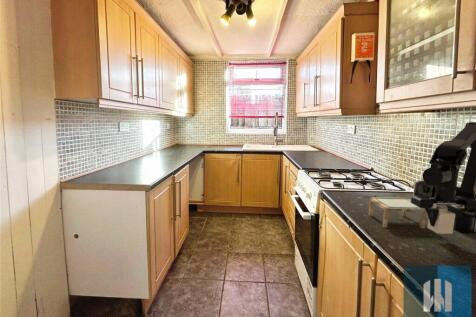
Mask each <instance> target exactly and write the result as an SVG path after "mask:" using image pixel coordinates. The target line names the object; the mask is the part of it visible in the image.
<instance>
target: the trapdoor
mask: <svg viewBox="0 0 476 317" xmlns="http://www.w3.org/2000/svg"><path fill="white" fill-rule="evenodd" d="M377 200H378V201H380V202H381V203H383V204H384V205H386V206H388V207H389V210H402V209H404V210H408V211H409V210H411V211H414V210H415V211H417V210H418V211H422V210H421V208H420V207H418V206H416V205H414V204H412V203H411V202H410V201H408V200H406V199H377Z"/></svg>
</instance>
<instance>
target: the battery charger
mask: <svg viewBox="0 0 476 317" xmlns="http://www.w3.org/2000/svg"><path fill="white" fill-rule="evenodd" d="M421 184H423V185H427V187H432V186H431V185H428V184H427V183H425V181H424V180H423V179H422V180H421V179H420V180H416V181H415V182H414V184H413V185H414V186H413V195H412V197H413V196H423V194H420V193H419V192H418V187H419V185H421ZM425 197H428V198H430V197H429V196H425Z"/></svg>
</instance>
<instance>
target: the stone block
mask: <svg viewBox="0 0 476 317" xmlns="http://www.w3.org/2000/svg"><path fill="white" fill-rule="evenodd" d="M438 209H439V213H438V216H437V220H436V223H435V225H434V227H433V226H431V224H430V221H429V218H428V219H427V229H429V230H431V231H432V232H434V233H436V234H444V235H447V234H448V235H450V234H452V235H453V233H454V228H453V227H454V220H455V213H453V212H450V211H448V209H446V208H438Z"/></svg>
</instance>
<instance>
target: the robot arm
mask: <svg viewBox="0 0 476 317" xmlns="http://www.w3.org/2000/svg"><path fill="white" fill-rule="evenodd" d="M464 126H465V127H463V128H462V129H461V131H459V132H458V133H457V134H456V135H455V136H454V137H453V138H452V139H450V140H446V141H443V142H442V143H440V144H438V146H436V148H435V150H434V152H433V154H432V156H431V157H430V160H429V162H428V163H429V165H430V167H428V168H426V169H425V170H424V171H423V173H422V176H421V177H422V180H424V181H425V183H427V184H428V185H431V186H432V187H427V185H423V184H421V185H419V187H418V192H419V193H420V194H423V196H413V195H412V197H411V198H410V200H411V203H412V204H414V205H416V206H418V207H420V208H425V210H426V212H427V214H426V215H427V217H428V219H429V221H430V224H431V226H433V227H434V225H435V223H436V220H437V216H438V213H439V209H440V208H437V206H442V205H443V206H446V208H447V210H448V211H450V212H453V213H455V220H454V227H453V230H456V231H457V232H459V233H475V234H476V229H475V227H476V121H469V122H466V123H465V125H464ZM468 148H470V152H469V155H468V152H467V149H468ZM467 157H468V159H467ZM466 159H467V162H466V165H465V170H464V173H463V178H462V181H461V182H460V183H461V184H460V186H458V181H459V175H460V174H459V173H460V169H461V167H462V165H463V164H464V163H465V160H466ZM425 196H429V198H428V197H425Z"/></svg>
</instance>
